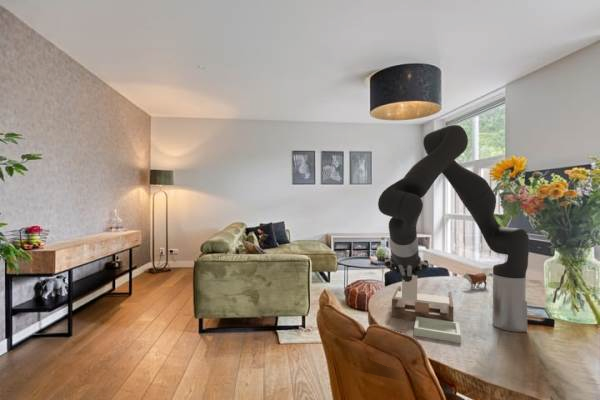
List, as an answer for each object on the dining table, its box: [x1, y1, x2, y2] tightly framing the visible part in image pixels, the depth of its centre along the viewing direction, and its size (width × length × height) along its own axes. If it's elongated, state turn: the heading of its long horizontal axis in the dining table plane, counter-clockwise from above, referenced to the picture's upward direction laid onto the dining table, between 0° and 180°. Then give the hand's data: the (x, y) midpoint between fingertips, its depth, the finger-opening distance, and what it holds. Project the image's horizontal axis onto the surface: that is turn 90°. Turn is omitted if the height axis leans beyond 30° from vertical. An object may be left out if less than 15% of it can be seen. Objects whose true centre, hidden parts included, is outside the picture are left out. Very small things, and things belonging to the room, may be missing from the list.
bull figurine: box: [462, 271, 488, 291], centre depth 156 cm, size 4×13×8 cm, turn 107°
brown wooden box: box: [391, 285, 454, 322], centre depth 120 cm, size 20×20×6 cm
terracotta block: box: [415, 302, 429, 314], centre depth 114 cm, size 4×4×4 cm
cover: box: [395, 275, 450, 306], centre depth 114 cm, size 18×8×10 cm, turn 67°
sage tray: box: [413, 316, 462, 344], centre depth 102 cm, size 13×11×2 cm
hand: (407, 279), depth 102 cm, fingers closed
